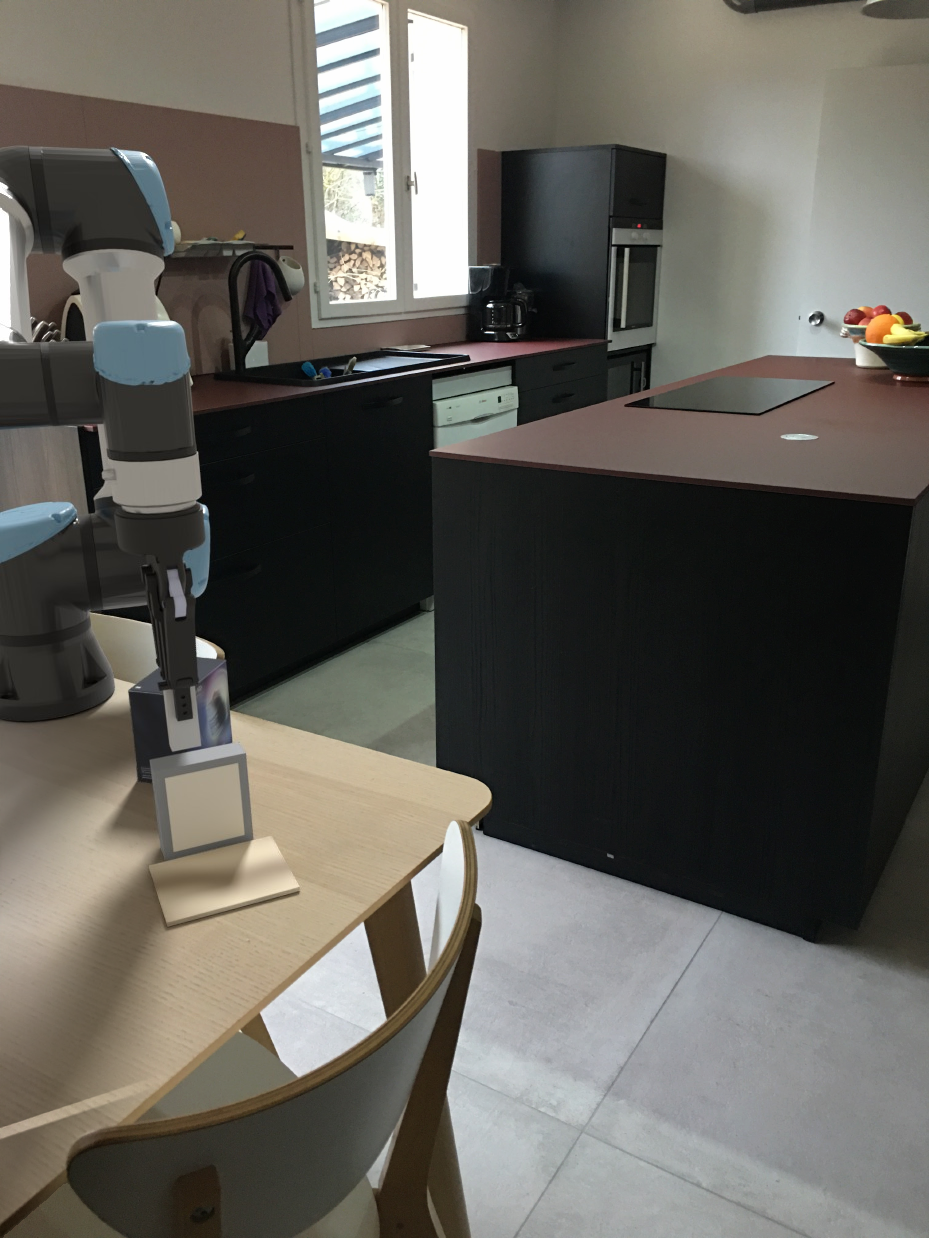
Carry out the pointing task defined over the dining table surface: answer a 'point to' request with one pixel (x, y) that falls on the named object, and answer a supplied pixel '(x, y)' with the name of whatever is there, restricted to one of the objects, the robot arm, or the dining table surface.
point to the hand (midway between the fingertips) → (185, 745)
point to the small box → (153, 722)
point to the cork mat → (221, 880)
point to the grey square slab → (202, 800)
